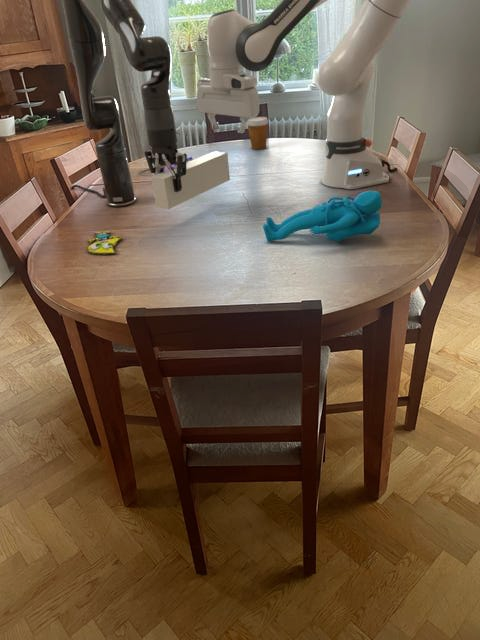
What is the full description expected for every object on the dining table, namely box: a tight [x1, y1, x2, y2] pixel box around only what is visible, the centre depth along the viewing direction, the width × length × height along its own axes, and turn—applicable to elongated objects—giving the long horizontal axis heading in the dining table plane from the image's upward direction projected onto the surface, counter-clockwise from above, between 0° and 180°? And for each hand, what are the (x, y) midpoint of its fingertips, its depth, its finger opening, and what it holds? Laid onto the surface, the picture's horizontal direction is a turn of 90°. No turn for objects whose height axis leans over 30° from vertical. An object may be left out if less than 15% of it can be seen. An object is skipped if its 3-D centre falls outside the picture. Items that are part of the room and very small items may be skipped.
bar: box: [150, 150, 231, 210], centre depth 140 cm, size 28×5×8 cm, turn 144°
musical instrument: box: [138, 156, 193, 175], centre depth 196 cm, size 24×2×20 cm
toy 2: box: [262, 190, 383, 243], centre depth 124 cm, size 17×11×30 cm
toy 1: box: [87, 230, 123, 255], centre depth 134 cm, size 10×1×15 cm
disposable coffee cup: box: [246, 116, 269, 150], centre depth 210 cm, size 10×10×12 cm
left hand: (170, 189), depth 134 cm, fingers closed on bar, 5 cm apart
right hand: (228, 130), depth 142 cm, fingers open, 8 cm apart
